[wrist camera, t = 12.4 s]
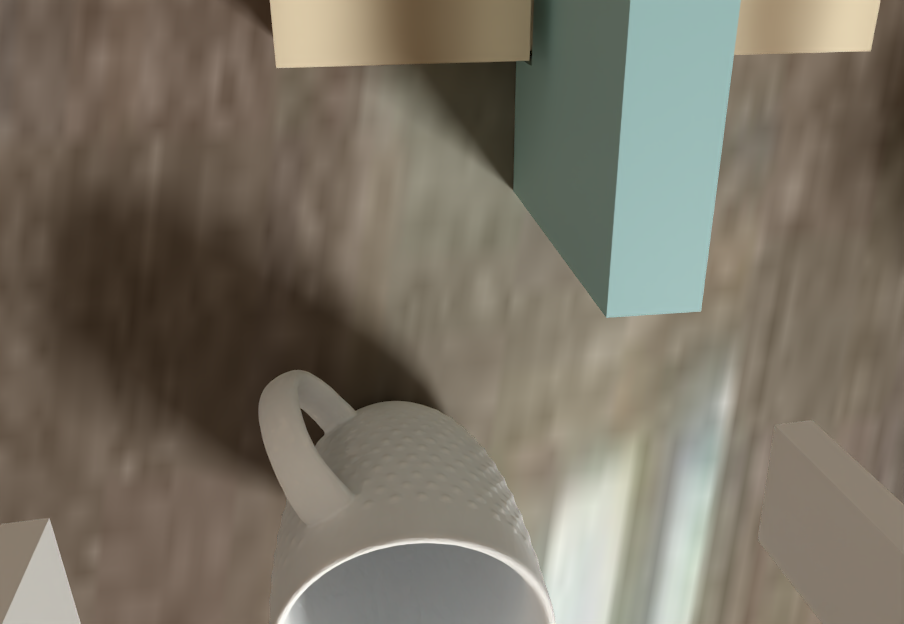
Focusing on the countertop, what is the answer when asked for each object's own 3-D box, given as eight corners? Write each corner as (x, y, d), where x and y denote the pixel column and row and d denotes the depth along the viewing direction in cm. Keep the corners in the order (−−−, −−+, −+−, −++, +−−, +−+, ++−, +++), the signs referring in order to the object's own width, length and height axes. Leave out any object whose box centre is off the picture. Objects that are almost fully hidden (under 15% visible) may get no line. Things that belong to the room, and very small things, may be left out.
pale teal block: (522, -223, 31) (655, -338, 18) (599, -222, 31) (783, -333, 18) (513, 190, 37) (606, 317, 25) (577, 187, 38) (701, 311, 25)
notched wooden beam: (285, 47, 34) (276, 67, 28) (277, -32, 32) (267, -27, 27) (789, 34, 36) (870, 50, 31) (801, -40, 35) (887, -36, 29)
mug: (187, 385, 39) (125, 576, 27) (375, 260, 38) (395, 404, 26) (366, 572, 45) (379, 794, 34) (534, 470, 44) (608, 664, 32)
